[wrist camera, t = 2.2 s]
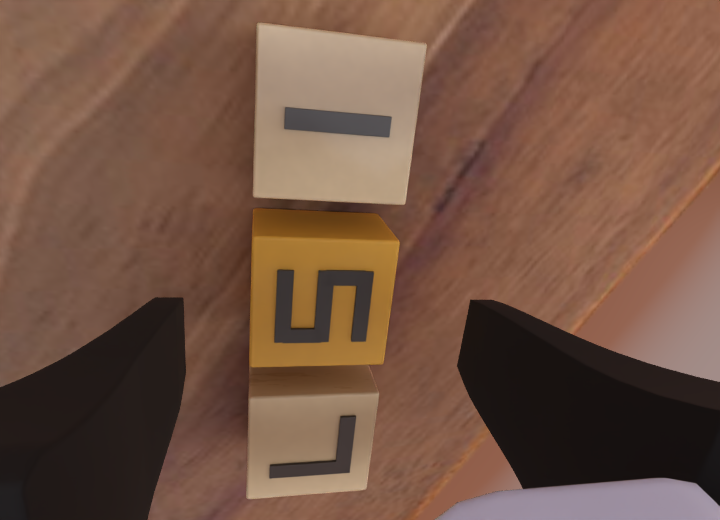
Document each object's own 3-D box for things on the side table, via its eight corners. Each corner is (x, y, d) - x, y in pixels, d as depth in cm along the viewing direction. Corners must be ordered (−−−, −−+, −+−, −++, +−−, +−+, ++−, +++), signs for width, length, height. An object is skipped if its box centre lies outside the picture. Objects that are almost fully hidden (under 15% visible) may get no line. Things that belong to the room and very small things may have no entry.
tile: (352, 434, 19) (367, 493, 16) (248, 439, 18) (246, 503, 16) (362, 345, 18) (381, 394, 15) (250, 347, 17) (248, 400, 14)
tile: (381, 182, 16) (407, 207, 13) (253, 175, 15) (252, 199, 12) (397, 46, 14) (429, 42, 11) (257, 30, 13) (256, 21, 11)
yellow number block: (365, 321, 17) (384, 367, 15) (250, 321, 16) (248, 370, 14) (378, 212, 16) (402, 242, 13) (253, 207, 15) (251, 237, 12)
